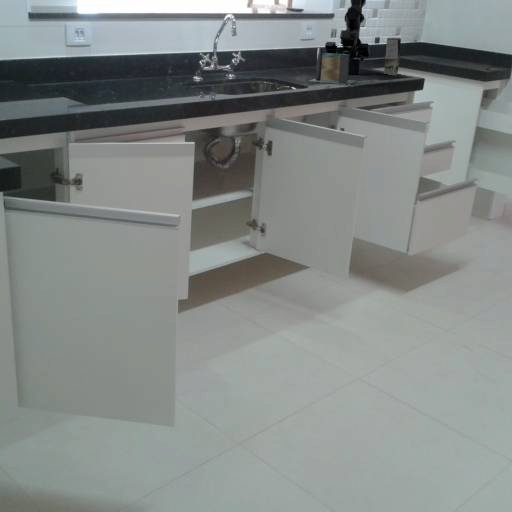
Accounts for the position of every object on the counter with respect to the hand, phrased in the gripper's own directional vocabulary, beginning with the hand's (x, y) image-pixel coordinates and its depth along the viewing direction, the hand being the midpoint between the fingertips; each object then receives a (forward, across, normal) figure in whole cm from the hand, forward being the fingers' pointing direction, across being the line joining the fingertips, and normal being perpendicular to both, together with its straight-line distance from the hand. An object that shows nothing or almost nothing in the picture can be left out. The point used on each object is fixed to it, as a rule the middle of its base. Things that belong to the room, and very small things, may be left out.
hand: (343, 65), depth 301 cm
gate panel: (+5, -3, +4) cm, 7 cm away
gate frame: (+6, -5, +4) cm, 9 cm away
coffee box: (-24, +12, +36) cm, 45 cm away
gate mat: (+4, -5, +7) cm, 9 cm away
